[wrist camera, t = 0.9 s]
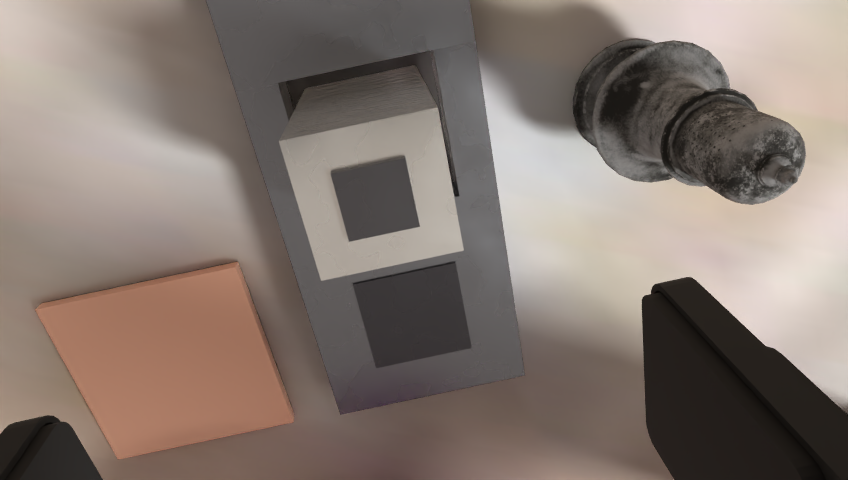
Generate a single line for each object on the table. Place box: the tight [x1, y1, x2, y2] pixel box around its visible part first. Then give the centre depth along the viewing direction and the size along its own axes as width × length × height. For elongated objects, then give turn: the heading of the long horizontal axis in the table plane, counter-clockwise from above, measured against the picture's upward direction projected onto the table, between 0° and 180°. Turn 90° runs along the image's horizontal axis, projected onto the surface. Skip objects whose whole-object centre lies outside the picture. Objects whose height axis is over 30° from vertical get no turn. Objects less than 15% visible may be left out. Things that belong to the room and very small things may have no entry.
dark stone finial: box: [573, 39, 806, 205], centre depth 22 cm, size 6×6×12 cm
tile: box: [35, 262, 294, 460], centre depth 31 cm, size 10×10×1 cm
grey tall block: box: [279, 65, 464, 281], centre depth 23 cm, size 5×5×9 cm
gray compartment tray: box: [206, 0, 525, 415], centre depth 27 cm, size 24×10×2 cm, turn 11°
